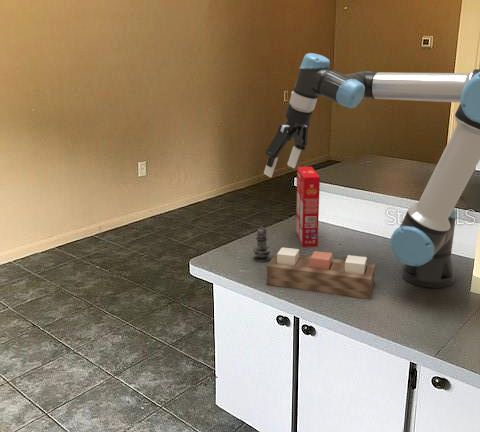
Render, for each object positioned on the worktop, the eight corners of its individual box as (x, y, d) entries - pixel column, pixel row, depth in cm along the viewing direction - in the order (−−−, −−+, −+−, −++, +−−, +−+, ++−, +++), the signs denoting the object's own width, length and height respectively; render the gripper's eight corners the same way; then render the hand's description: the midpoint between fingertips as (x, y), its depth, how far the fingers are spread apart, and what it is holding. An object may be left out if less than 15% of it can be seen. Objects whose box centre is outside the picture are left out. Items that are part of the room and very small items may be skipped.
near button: (365, 270, 156) (366, 257, 155) (363, 278, 152) (364, 264, 150) (347, 268, 158) (348, 255, 157) (344, 275, 153) (345, 262, 152)
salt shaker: (261, 254, 181) (261, 220, 177) (274, 258, 177) (274, 224, 173) (249, 259, 177) (248, 225, 173) (262, 264, 173) (262, 229, 169)
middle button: (331, 266, 160) (332, 253, 158) (328, 273, 155) (328, 260, 153) (313, 263, 161) (314, 251, 160) (310, 271, 156) (310, 257, 155)
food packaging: (317, 246, 187) (319, 177, 179) (302, 247, 187) (304, 177, 178) (309, 231, 201) (311, 166, 193) (295, 232, 201) (297, 167, 192)
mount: (373, 282, 160) (375, 263, 158) (369, 298, 150) (371, 279, 148) (276, 269, 169) (277, 252, 167) (266, 284, 159) (266, 265, 158)
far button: (298, 262, 163) (299, 249, 161) (294, 269, 158) (294, 256, 157) (281, 259, 164) (281, 247, 163) (276, 266, 160) (277, 253, 158)
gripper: (311, 98, 168) (290, 158, 179) (267, 107, 149) (247, 173, 160) (331, 107, 165) (309, 168, 175) (288, 118, 146) (266, 185, 156)
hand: (279, 170), depth 168 cm, fingers open, 13 cm apart
